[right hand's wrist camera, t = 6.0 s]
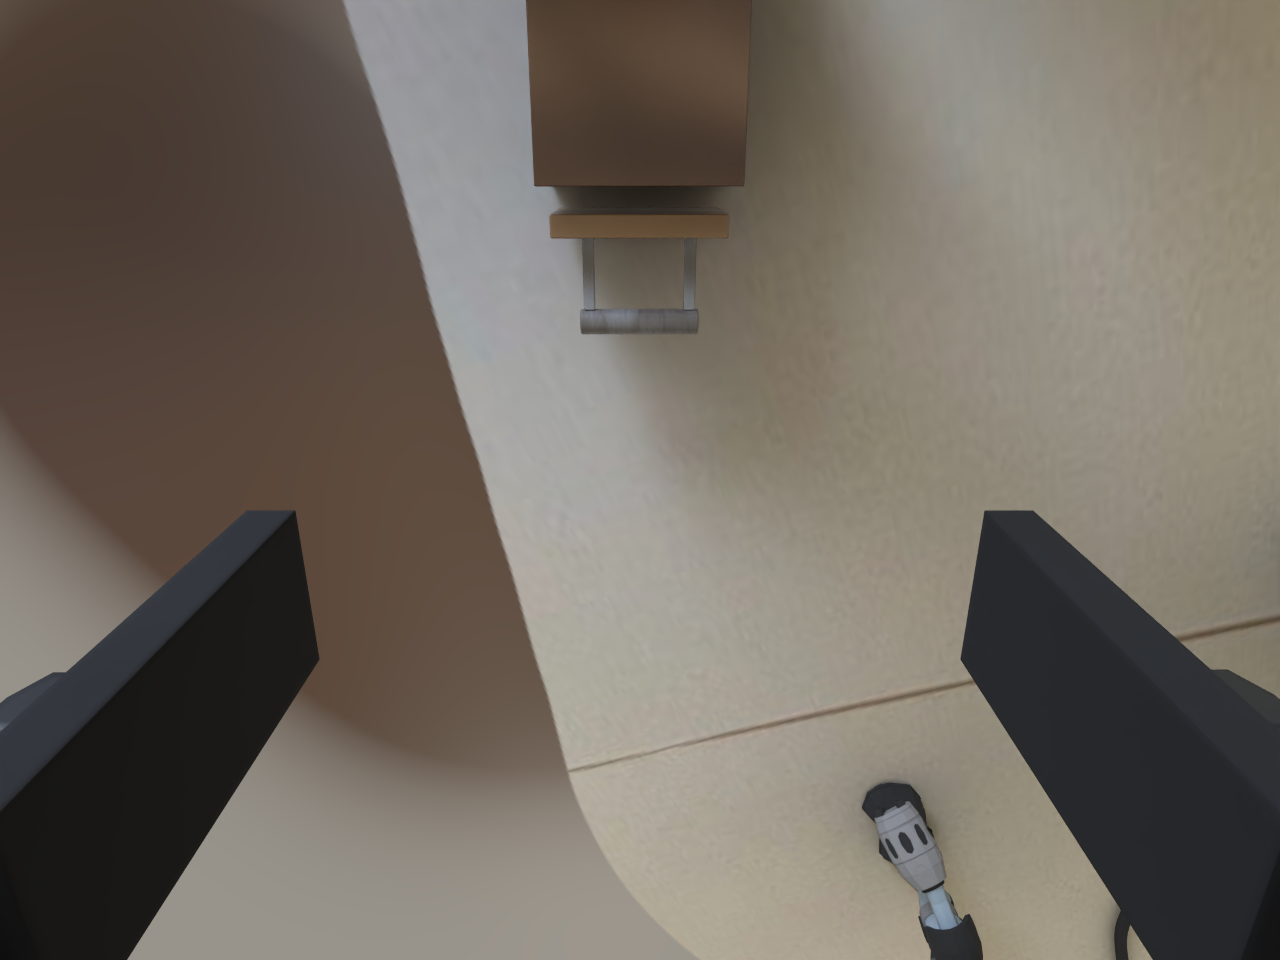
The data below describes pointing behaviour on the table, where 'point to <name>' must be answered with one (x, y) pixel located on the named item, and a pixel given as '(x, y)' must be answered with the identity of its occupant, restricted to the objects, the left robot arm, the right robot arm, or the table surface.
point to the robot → (921, 869)
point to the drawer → (639, 226)
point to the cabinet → (639, 91)
